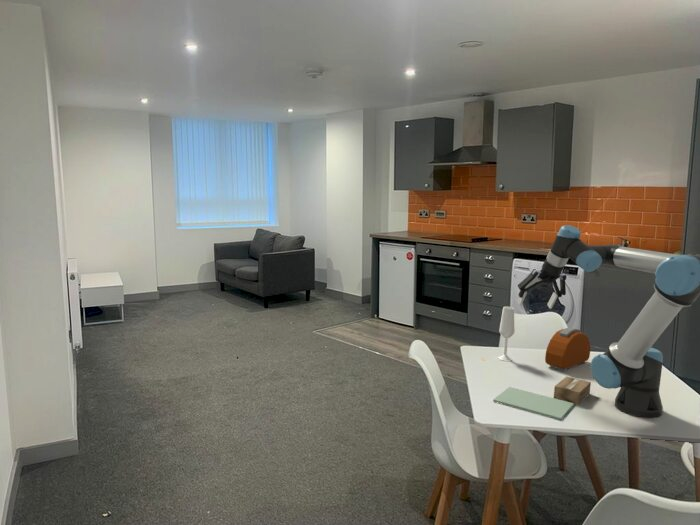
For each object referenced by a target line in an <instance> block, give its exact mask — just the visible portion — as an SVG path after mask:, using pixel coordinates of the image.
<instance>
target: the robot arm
mask: <svg viewBox="0 0 700 525" xmlns="http://www.w3.org/2000/svg"><path fill="white" fill-rule="evenodd" d="M581 235H582V232H581V230H580V229H579V228H578V227H576V226H573V225H569V224H566V225H562V226H561V227H560V229H559V231H558V233H557V234H556V236H555V238H554V241H553V243H552V246H551V247H550V250H549V251H548V253H547V256H546V259H545V260H544V262H543V264H542V265H541V269H540V270H537V269H535V268H534V269H533V270H532V271H531V272H530V273H529V274H528V275H527V276H526V277H525V278H524V279H523V280H522V281H521V282H519V283H518V285H517V288H518V289H519V290H520V291H519V293H518V298H517V301H516V302H517V303H518V305H519V306H522V305H523V302H524V300H525V297H527V294H528V292H527V291H529V290H530V289H532V288H533V287H535V286H536V285H540V284H542V283H543V284H545V283H546V284H552V285H553V289H554V291H553V292H552V295H551V296H550V298H549V300H548V301H547V304H546V305H547V307H548V308H549V309H551V310H552V308H553V307H554V305H555V303H556V302H558V300H559V298H561V297H562V296H565V295H566V293H567V291H566V290H567V289H566V280H567V275H566V274H565V273H564V272H563V271H564V268H565V266H566V265H567V263H568V261H569V259H570V260H571V261H572V262H574V264H576V265H577V266H578V267H579V268H580V269H582V270H583V271H585V272H588V273H589V272H590V273H591V272H593V271H596V270H597V269H598V268H600V267H601V266H611V267H617V268H618V267H619V268H622V269H623V268H624V269H629V270H635V271H638V272H639V271H640V272H644V273H650V274H654V276H655V280H654V281H655V282H654V283H653V288H654V293H653V295H651V297H650V298H649V300H648V301H647V302H646V304H645V305H644V307H643V308H641V311H640V312H639V314H637V315H636V317H635V319H634V320H633V321H632V323H631V324H630V325H629V327H628V328H627V330H626V331H625V333H624V334H623V335H622V337H621V338H620V339H619V340H618V341H617V342H615V341H614V342H611V344H610V345H609V346H608V347H607V349H606V350H605V352H604V353H603V354H602V353H599V354H597V355H595V356H593V358H592V360H591V361H590V371H591V375H592V377H593V379H594V380H595V382H596V383H597V384H598V385H599V386H600V387H603V388H604V389H615V390H616V389H618V388H619V391H618V393H617V395H616V397H615V399H614V406H615V407H616V409H617V410H619V411H620V412H623V413H624V414H628V415H631V416H635V417H638V418H640V417H641V418H647V419H648V418H649V419H654V418H656V419H657V418H659V417H662V415H663V413H664V412H663V411H664V410H663V409H664V408H663V403H662V399H661V395H660V387H661V386H660V385H661V377H662V369H663V364H664V360H663V359H664V357H663V356H664V355H663V352H662V351H661V350H658V349H656V348H653V346H654V345H655V343H656V342H657V340H658V339H659V338H660V336H661V335H662V334H663V333H664V331H665V330H666V329H667V328H668V326H669V325H670V324H671V323H672V322H673V320H674V319H675V318H676V316H677V315H678V314H679V312H680V311H681V310H682V308H684V307H685V308H686V307H691V306H692V305H693V303H695V302H696V300H697V299H698V298H699V296H700V254H699V253H689V254H674V253H670V252H669V253H668V252H662V251H661V252H660V251H654V250H648V249H643V248H641V249H640V248H633V247H627V246H622V245H620V244H613V243H612V244H611V243H610V244H598V245H589V244H587V243H585V242H584V241H583V240H581V239H580V238H581ZM558 279H559V286H558V283H557V280H558ZM559 287H560V288H559Z"/></svg>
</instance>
